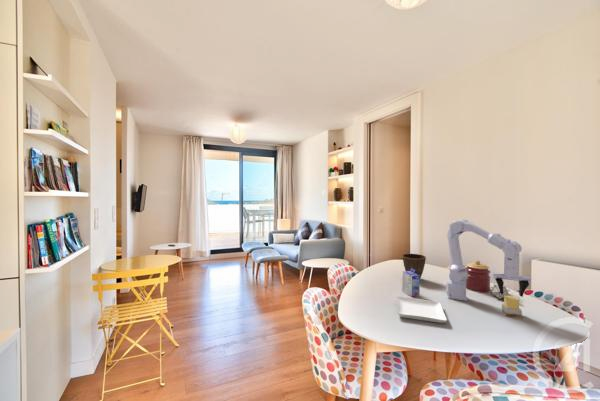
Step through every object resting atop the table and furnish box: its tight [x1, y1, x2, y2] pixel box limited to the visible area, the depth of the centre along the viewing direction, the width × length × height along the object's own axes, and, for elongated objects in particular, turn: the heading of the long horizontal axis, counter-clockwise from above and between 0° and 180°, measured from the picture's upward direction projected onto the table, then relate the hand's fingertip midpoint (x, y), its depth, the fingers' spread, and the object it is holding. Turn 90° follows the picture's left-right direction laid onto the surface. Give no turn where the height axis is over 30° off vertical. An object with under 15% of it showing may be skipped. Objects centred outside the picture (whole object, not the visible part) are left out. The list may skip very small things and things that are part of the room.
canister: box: [465, 260, 491, 293], centre depth 160 cm, size 13×13×18 cm
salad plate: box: [396, 296, 448, 324], centre depth 128 cm, size 21×21×3 cm
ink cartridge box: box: [401, 268, 421, 298], centre depth 153 cm, size 10×6×14 cm, turn 12°
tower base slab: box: [501, 308, 523, 320], centre depth 126 cm, size 6×6×2 cm
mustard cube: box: [503, 295, 520, 309], centre depth 126 cm, size 4×4×4 cm
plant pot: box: [401, 253, 427, 279], centre depth 179 cm, size 15×15×16 cm
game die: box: [489, 284, 510, 301], centre depth 145 cm, size 9×8×10 cm
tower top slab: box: [501, 303, 523, 316], centre depth 126 cm, size 6×6×2 cm
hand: (511, 294), depth 126 cm, fingers open, 7 cm apart
